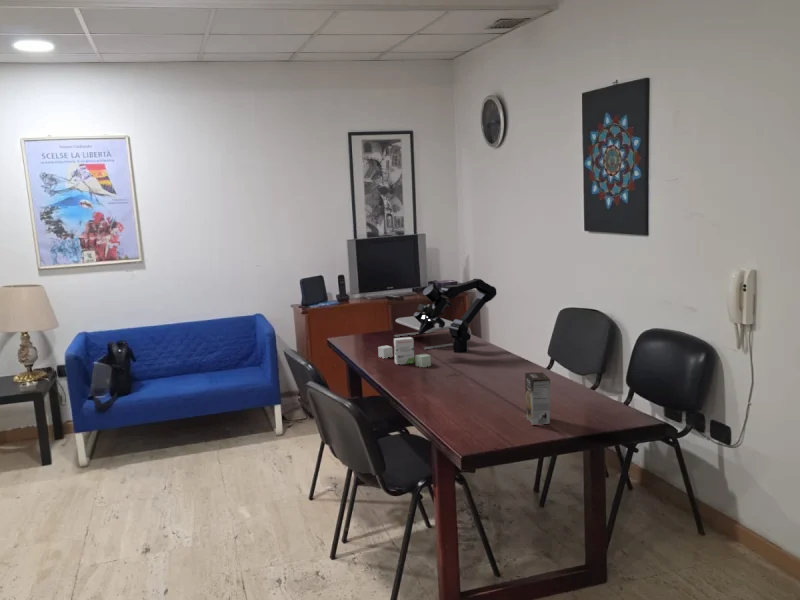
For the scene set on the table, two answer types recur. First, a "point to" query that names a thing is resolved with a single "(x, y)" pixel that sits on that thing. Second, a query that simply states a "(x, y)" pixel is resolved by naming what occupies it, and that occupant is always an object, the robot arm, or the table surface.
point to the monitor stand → (415, 324)
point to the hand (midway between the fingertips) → (419, 334)
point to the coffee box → (537, 398)
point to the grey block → (385, 351)
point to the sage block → (423, 360)
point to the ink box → (404, 350)
